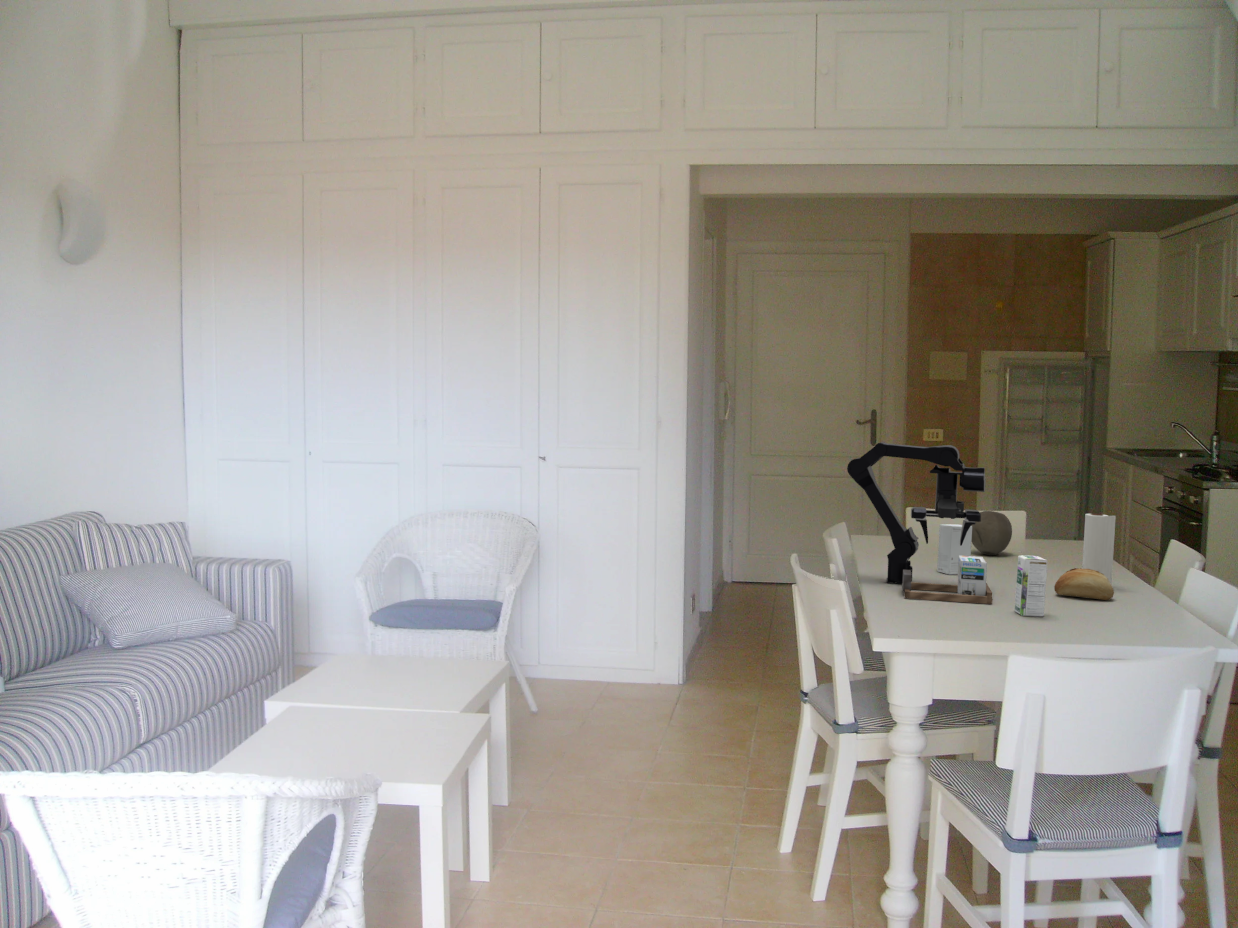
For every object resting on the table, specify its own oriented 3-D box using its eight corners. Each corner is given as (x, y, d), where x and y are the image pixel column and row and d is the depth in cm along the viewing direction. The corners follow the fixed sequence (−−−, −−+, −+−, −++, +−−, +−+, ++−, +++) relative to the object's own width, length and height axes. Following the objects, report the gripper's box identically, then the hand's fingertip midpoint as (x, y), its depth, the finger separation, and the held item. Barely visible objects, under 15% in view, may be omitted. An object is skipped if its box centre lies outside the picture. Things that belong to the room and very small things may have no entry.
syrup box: (1013, 611, 271) (1016, 554, 270) (1037, 611, 271) (1040, 555, 270) (1021, 616, 266) (1024, 558, 265) (1045, 616, 266) (1048, 559, 264)
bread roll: (1052, 592, 299) (1054, 564, 299) (1110, 596, 295) (1112, 568, 294) (1055, 598, 290) (1056, 569, 290) (1115, 603, 286) (1117, 574, 285)
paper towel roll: (1078, 587, 307) (1082, 513, 305) (1085, 584, 311) (1089, 512, 310) (1104, 591, 302) (1108, 516, 301) (1111, 588, 307) (1115, 514, 305)
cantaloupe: (1017, 558, 358) (1019, 514, 357) (975, 557, 358) (977, 513, 357) (1003, 551, 372) (1005, 509, 371) (962, 550, 372) (964, 508, 371)
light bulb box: (985, 602, 282) (988, 562, 281) (959, 600, 283) (961, 560, 283) (981, 595, 292) (983, 556, 291) (956, 593, 294) (958, 554, 293)
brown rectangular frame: (903, 598, 284) (904, 576, 284) (901, 587, 299) (902, 567, 299) (991, 604, 279) (993, 582, 279) (985, 593, 294) (986, 572, 294)
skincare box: (949, 575, 323) (951, 526, 321) (935, 571, 328) (938, 523, 327) (971, 573, 326) (973, 525, 325) (957, 570, 331) (960, 522, 330)
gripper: (913, 490, 296) (911, 546, 297) (984, 494, 292) (981, 550, 293) (911, 487, 307) (909, 541, 308) (980, 490, 303) (977, 544, 304)
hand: (943, 544), depth 303 cm, fingers open, 9 cm apart
